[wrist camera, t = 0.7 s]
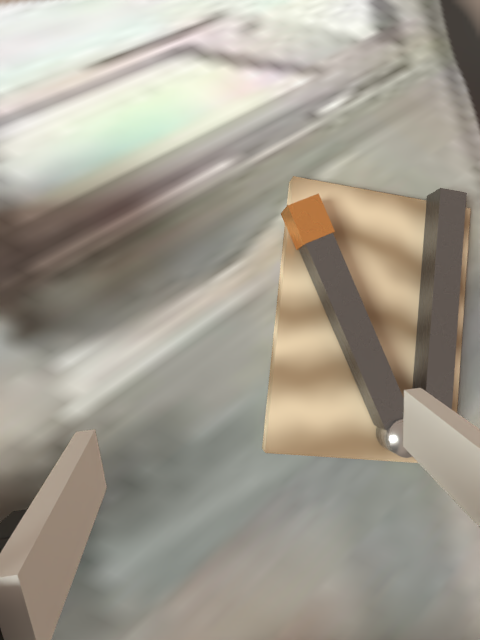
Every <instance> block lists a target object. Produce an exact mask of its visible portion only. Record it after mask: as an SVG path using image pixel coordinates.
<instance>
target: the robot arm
mask: <svg viewBox="0 0 480 640" xmlns="http://www.w3.org/2000/svg"><path fill="white" fill-rule="evenodd" d="M403 447H404V448H405V449H406V450H407V451H408V452H409V453H410V454H411V455H412V456H413V457H414V458H415V460H416V461H417V462H418V463H419V464H420V465H421V466H422V467H423V468H424V469H425V470H426V471H427V472H428V473H429V474H430V475H431V477H432V478H433V479H434V480H435V481H436V482H437V483H438V484H439V485H440V486H441V487H442V488H443V489H444V490H445V491H446V492H447V493H448V495H449V496H450V497H451V498H452V499H453V500H454V501H455V502H456V503H457V504H458V505H459V506H460V507H461V508H462V509H463V510H464V512H465V513H466V514H467V515H468V516H469V517H470V518H471V519H472V520H473V521H474V522H475V523H476V524H477V525H478V526H479V527H480V429H478V428H477V427H476V426H474V425H473V424H471V423H470V422H469V421H467V420H466V419H464V418H463V417H461V416H460V415H459V414H457V413H456V412H454V411H453V410H452V409H450V408H449V407H447V406H446V405H445V404H443V403H442V402H440V401H439V400H437V399H436V398H435V397H433V396H432V395H430V394H429V393H428V392H426V391H425V390H423V389H422V388H415V389H407V390H404V415H403ZM106 489H107V486H106V481H105V476H104V471H103V466H102V461H101V456H100V451H99V446H98V441H97V436H96V431H95V430H87V431H79V432H76V433H75V434H74V436H73V437H72V439H71V441H70V442H69V444H68V445H67V447H66V449H65V450H64V452H63V453H62V455H61V457H60V458H59V460H58V461H57V463H56V465H55V466H54V468H53V469H52V471H51V473H50V474H49V476H48V477H47V479H46V481H45V482H44V484H43V485H42V487H41V489H40V490H39V492H38V493H37V495H36V497H35V498H34V500H33V501H32V503H31V505H30V506H29V508H28V509H27V510H21V511H14V512H12V513H11V514H10V515H9V516H8V517H7V518H5V519H4V520H3V521H2V522H1V523H0V640H51V639H52V636H53V633H54V630H55V628H56V625H57V622H58V619H59V617H60V614H61V611H62V609H63V606H64V603H65V600H66V598H67V595H68V592H69V590H70V587H71V584H72V581H73V579H74V576H75V573H76V570H77V568H78V565H79V562H80V560H81V557H82V554H83V551H84V549H85V546H86V543H87V540H88V538H89V535H90V532H91V530H92V527H93V524H94V521H95V519H96V516H97V513H98V511H99V508H100V505H101V502H102V500H103V497H104V494H105V491H106Z"/></svg>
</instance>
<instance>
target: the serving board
mask: <svg viewBox="0 0 480 640" xmlns="http://www.w3.org/2000/svg"><path fill="white" fill-rule="evenodd" d="M318 193H319V195H320V198H321V200H322V202H323V205H324V207H325V209H326V212H327V214H328V216H329V219H330V221H331V223H332V226H333V228H334V230H335V232H334V233H333V234H334V237H335V239H336V241H337V244H338V246H339V248H340V251H341V253H342V255H343V258H344V260H345V262H346V265H347V267H348V269H349V272H350V274H351V276H352V279H353V281H354V283H355V286H356V288H357V290H358V293H359V295H360V297H361V300H362V302H363V304H364V307H365V309H366V311H367V314H368V316H369V318H370V321H371V323H372V325H373V328H374V330H375V332H376V335H377V337H378V339H379V342H380V344H381V346H382V349H383V351H384V353H385V356H386V358H387V360H388V363H389V365H390V367H391V370H392V372H393V375H394V377H395V379H396V382H397V384H398V386H399V389H400V391H401V393H402V396H403V398H404V390H407V389H412V387H413V373H414V360H415V347H416V333H417V320H418V307H419V294H420V280H421V267H422V254H423V241H424V227H425V214H426V200H421V199H415V198H410V197H404V196H399V195H393V194H388V193H382V192H377V191H371V190H366V189H360V188H355V187H349V186H344V185H338V184H333V183H327V182H322V181H316V180H311V179H305V178H300V177H294V176H293V178H292V179H291V181H290V182H289V190H288V200H287V205H290V204H292V203H295V202H298V201H300V200H303V199H305V198H308V197H310V196H313V195H316V194H318ZM470 210H471V209H470V208H466V209H465V224H464V239H463V253H462V268H461V283H460V298H459V312H458V327H457V342H456V357H455V371H454V386H453V401H452V410H453V411H454V412H456V413H457V404H458V389H459V374H460V359H461V344H462V329H463V314H464V299H465V284H466V269H467V254H468V240H469V225H470ZM376 427H377V426H375V425H374V424H373V422H372V419H371V417H370V415H369V412H368V410H367V408H366V405H365V403H364V401H363V398H362V396H361V394H360V391H359V389H358V387H357V384H356V382H355V380H354V377H353V375H352V373H351V370H350V368H349V366H348V363H347V361H346V359H345V356H344V354H343V352H342V349H341V347H340V345H339V342H338V340H337V338H336V335H335V333H334V331H333V329H332V326H331V324H330V322H329V319H328V317H327V315H326V312H325V310H324V308H323V305H322V303H321V301H320V298H319V296H318V294H317V291H316V289H315V287H314V284H313V282H312V280H311V277H310V275H309V273H308V270H307V268H306V266H305V263H304V261H303V259H302V256H301V254H300V252H299V249H298V250H296V248H295V246H294V243H293V241H292V239H291V236H290V234H289V232H288V229H287V227H286V225H285V230H284V239H283V249H282V259H281V269H280V279H279V288H278V298H277V308H276V318H275V328H274V337H273V347H272V357H271V367H270V377H269V386H268V396H267V406H266V416H265V426H264V435H263V445H262V449H263V450H264V452H265V453H275V454H290V455H306V456H321V457H336V458H352V459H367V460H382V461H397V462H413V463H418V462H417V461H416V460H415V458H414V457H410V458H403V457H401V456H398V455H397V454H395V453H393V452H391V451H389V450H387V449H385V448H384V447H382V446H381V445H380V444H379V442H378V440H377V438H376Z"/></svg>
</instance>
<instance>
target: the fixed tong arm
mask: <svg viewBox="0 0 480 640" xmlns="http://www.w3.org/2000/svg"><path fill="white" fill-rule="evenodd" d="M466 194H467V193H464V192H459V191H454V190H449V189H443V188H440V189H438V190H436V191H435V192H433V193H431V194H430V195H428V196H427V201H426V214H425V227H424V241H423V254H422V267H421V280H420V294H419V307H418V320H417V333H416V347H415V360H414V373H413V387H412V389H415V388H422V389H423V390H425V391H426V392H428V393H429V394H430V395H432V396H433V397H435V398H436V399H437V400H439V401H440V402H442V403H443V404H445V405H446V406H447V407H449V408H450V409H452V401H453V386H454V371H455V357H456V342H457V327H458V312H459V298H460V283H461V268H462V253H463V239H464V224H465V209H466Z"/></svg>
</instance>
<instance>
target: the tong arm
mask: <svg viewBox="0 0 480 640" xmlns="http://www.w3.org/2000/svg"><path fill="white" fill-rule="evenodd" d="M281 215H282V218H283V220H284V222H285V225H286V227H287V229H288V232H289V234H290V236H291V239H292V241H293V243H294V246H295V248H296V250H298V249H299V252H300V254H301V256H302V259H303V261H304V263H305V266H306V268H307V270H308V273H309V275H310V277H311V280H312V282H313V284H314V287H315V289H316V291H317V294H318V296H319V298H320V301H321V303H322V305H323V308H324V310H325V312H326V315H327V317H328V319H329V322H330V324H331V326H332V329H333V331H334V333H335V335H336V338H337V340H338V342H339V345H340V347H341V349H342V352H343V354H344V356H345V359H346V361H347V363H348V366H349V368H350V370H351V373H352V375H353V377H354V380H355V382H356V384H357V387H358V389H359V391H360V394H361V396H362V398H363V401H364V403H365V405H366V408H367V410H368V412H369V415H370V417H371V419H372V422H373V424H374V425H375V426H377V427H376V438H377V440H378V442H379V444H380V445H381V446H382V447H384V448H385V449H387V450H389V451H391V452H393V453H395V454H397V455H398V456H401V457H403V458H410V457H413V456H412V455H411V454H410V453H409V452H408V451H407V450H406V449H405V448H404V447H403V415H404V398H403V396H402V393H401V391H400V389H399V386H398V384H397V382H396V379H395V377H394V375H393V372H392V370H391V367H390V365H389V363H388V360H387V358H386V356H385V353H384V351H383V349H382V346H381V344H380V342H379V339H378V337H377V335H376V332H375V330H374V328H373V325H372V323H371V321H370V318H369V316H368V314H367V311H366V309H365V307H364V304H363V302H362V300H361V297H360V295H359V293H358V290H357V288H356V286H355V283H354V281H353V279H352V276H351V274H350V272H349V269H348V267H347V265H346V262H345V260H344V258H343V255H342V253H341V251H340V248H339V246H338V244H337V241H336V239H335V237H334V234H333V233H334V232H335V230H334V228H333V226H332V223H331V221H330V219H329V216H328V214H327V212H326V209H325V207H324V205H323V202H322V200H321V198H320V195H319V193H318V194H316V195H313V196H310V197H308V198H305V199H303V200H300V201H298V202H295V203H292V204H290V205H287V207H286V208H285V209H284V210H283V212H282V213H281Z"/></svg>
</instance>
